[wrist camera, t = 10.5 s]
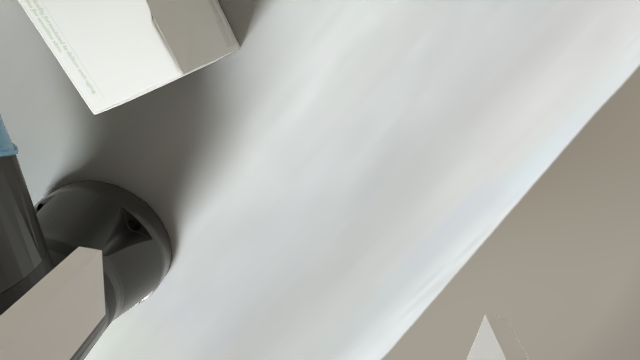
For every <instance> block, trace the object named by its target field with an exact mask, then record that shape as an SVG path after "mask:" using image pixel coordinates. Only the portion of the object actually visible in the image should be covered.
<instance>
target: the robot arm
mask: <svg viewBox="0 0 640 360" xmlns="http://www.w3.org/2000/svg"><path fill="white" fill-rule="evenodd" d="M16 154H18V148H17V146H16V145H15V144H14V143H12V142H11V140H10V137H9V135H8V132H7V130H6V128H5V125H4V123H3V120H2V118H1V115H0V360H84V358H85V357H86V356H87V354H88V353H89V352H90V350H91V349H92V347H93V346H94V345H95V343H96V342H97V341H98V339H99V338H100V336H101V335H102V334H103V332H104V331H105V330H106V328H107V327H108V326H109V324H110V323H111V322H112V321H113V320H114V319H116V318H117V317H119V316H120V315H122V314H123V313H125V312H126V311H127V310H129V309H130V308H132V307H133V306H135V305H137V304H139V303H140V302H142V301H144V300H145V299H147V298H148V297H149V296H150V295H151V294H152V293H153V292H154V291H155V290H156V288H157V287H158V286H159V284H160V283H161V281H162V280H163V278H164V277H165V275H166V274H167V271H168V269H169V266H170V262H171V244H170V240H169V236H168V234H167V231H166V229H165V227H164V225H163V223H162V222H161V220H160V219H159V217H158V216H157V215H156V214H155V212H154V211H153V210H152V209H151V208H150V207H149V206H148V205H147V204H146V203H145V202H143V201H142V200H141V199H139V198H138V197H137V196H135V195H133V194H132V193H130V192H128V191H126V190H124V189H122V188H120V187H117V186H114V185H111V184H107V183H103V182H96V181H82V182H75V183H71V184H68V185H65V186H63V187H61V188H59V189H57V190H56V191H54V192H52V193H51V194H49V195H48V196H46V197H44V198H43V199H42V200H41V201H39V202H38V203H37V204H36V205H35V206H33V203H32V200H31V197H30V194H29V191H28V189H27V186H26V183H25V180H24V177H23V174H22V171H21V168H20V165H19V162H18V159H17V156H16ZM467 360H529V358H528V356H527V354H526V352H525V350H524V349H523V347H522V345H521V343H520V341H519V339H518V338H517V336H516V334H515V332H514V330H513V328H512V326H511V324H510V323H509V321H508V319H507V318H502V317H497V316H491V315H485V316H484V319H483V321H482V324H481V326H480V328H479V331H478V333H477V336H476V338H475V341H474V343H473V345H472V348H471V350H470V353H469V355H468V357H467Z"/></svg>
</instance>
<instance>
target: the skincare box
mask: <svg viewBox="0 0 640 360" xmlns="http://www.w3.org/2000/svg"><path fill="white" fill-rule="evenodd" d="M18 1H19V3H20V4H21V6H22V7H23V9H24V10H25V12H26V13H27V15H28V16H29V18H30V19H31V21H32V22H33V24H34V25H35V27H36V28H37V30H38V31H39V33H40V34H41V36H42V37H43V39H44V40H45V42H46V43H47V45H48V46H49V48H50V49H51V51H52V52H53V54H54V55H55V57H56V58H57V60H58V61H59V63H60V65H61V66H62V68H63V69H64V71H65V72H66V74H67V75H68V77H69V78H70V80H71V81H72V83H73V84H74V86H75V87H76V89H77V90H78V92H79V93H80V95H81V96H82V98H83V99H84V101H85V102H86V104H87V105H88V107H89V108H90V110H91V111H92V113H93V114H94V115H96V114H99V113H101V112H104V111H107V110H109V109H112V108H114V107H116V106H119V105H121V104H124V103H126V102H128V101H131V100H133V99H135V98H137V97H140V96H142V95H144V94H146V93H148V92H151V91H153V90H155V89H157V88H159V87H162V86H164V85H166V84H168V83H170V82H173V81H175V80H177V79H179V78H181V77H183V76H185V75H187V74H190V73H192V72H194V71H196V70H198V69H201V68H203V67H205V66H207V65H209V64H211V63H213V62H215V61H217V60H219V59H221V58H223V57H225V56H227V55H229V54H231V53H233V52H235V51H236V50H238V49H240V46H239V44H238V42H237V40H236V37H235V35H234V33H233V31H232V29H231V27H230V25H229V23H228V21H227V19H226V17H225V15H224V13H223V11H222V9H221V7H220V5H219V2H218V0H18Z"/></svg>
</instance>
